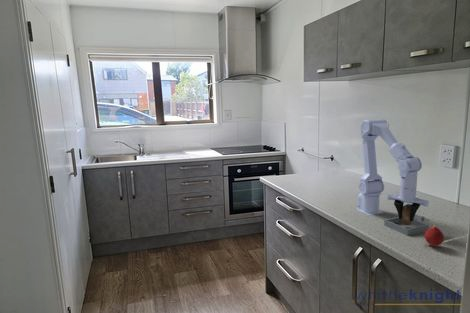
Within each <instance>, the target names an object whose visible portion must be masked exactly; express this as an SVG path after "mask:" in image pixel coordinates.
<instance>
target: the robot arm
mask: <svg viewBox="0 0 470 313" xmlns="http://www.w3.org/2000/svg"><path fill="white" fill-rule="evenodd" d="M360 136H361V146H362V156H363V158H362V159H363V168H364V170H363V171H364V174H363V175H362V176H361V177H360V178H359V186H358V188H359V194H358V196H357V208H356V210H357V211H359V212H362V213H365V214H366V215H369V216H373V215H378V214H384V212H383V211H382V210H380V197H381V195H382V193H383V192H384V190H385V184H384V181H383V177H382V176H381V175H380V174H378V167H377V156H376V143H375V142H376V141H375V140H376V139H377V138H378V137H380V138H381V139H382V140H383V141H384V142H385V143H386V145H388V147H389V152H390V154H391V155H392V157H394V159H395V161H396V162H397V163H398V164H397V169H398V171H399V175H400V181H399V182H400V183H399V194H393V193H392V194H391V193H389V194H387V200H389V201H390V200H392V201H394V202H393V205H394V207H395V210H396V212H397V215H398V216H399V219H401V217H402V207H403V206H404V203H406V204H411V205H410V209H411V215H410V221H411V222H412V221H413V220H414V216H415V214H416V215H417V211H418V210H419V208H420V207H421V206H424V207H429V202H430V201H429V200H426V199H422V198H418V197H417V186H418V172H419V171H420V170H421V169H422V166H423V164H422V161H421V160H420V158H419V157H418V156H414V155H412V154H411V152H410V151H409V150H408V149H407V146H406V145H405V144H403V143H400V142H398V140H397V139H396V137H395V136H394V135H393V133H392V132H391V130H390V124H389V123H388V121H387V120H386V119H385V118H380V119H379V118H378V119H377V118H376V119H364V120H362V123H361V124H360ZM398 216H397V217H398Z"/></svg>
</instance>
